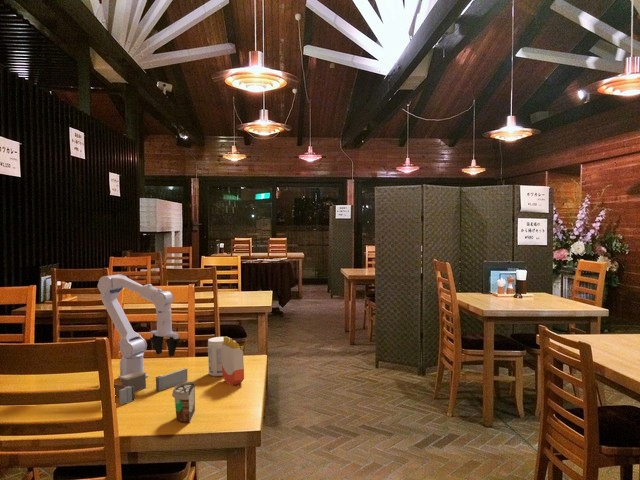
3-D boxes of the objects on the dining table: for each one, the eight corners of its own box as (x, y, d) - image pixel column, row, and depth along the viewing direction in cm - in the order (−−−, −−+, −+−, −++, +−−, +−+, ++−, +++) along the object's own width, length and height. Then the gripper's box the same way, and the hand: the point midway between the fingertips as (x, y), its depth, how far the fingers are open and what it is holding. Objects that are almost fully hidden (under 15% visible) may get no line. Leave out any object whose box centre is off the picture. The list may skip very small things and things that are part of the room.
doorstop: (120, 392, 180) (120, 376, 180) (139, 386, 187) (138, 371, 187) (127, 394, 178) (127, 378, 178) (146, 388, 185) (145, 372, 185)
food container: (177, 410, 161) (176, 381, 161) (195, 410, 162) (195, 380, 161) (168, 425, 149) (168, 394, 149) (188, 425, 149) (188, 393, 149)
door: (132, 400, 171) (132, 387, 171) (111, 396, 176) (111, 382, 176) (135, 399, 172) (135, 386, 172) (114, 395, 177) (114, 381, 177)
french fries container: (232, 377, 196) (231, 334, 195) (245, 384, 187) (244, 339, 187) (222, 380, 193) (221, 335, 193) (234, 387, 184) (233, 340, 184)
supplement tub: (235, 370, 206) (234, 336, 206) (226, 377, 197) (226, 342, 196) (213, 369, 208) (213, 336, 207) (204, 376, 198) (203, 341, 198)
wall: (119, 403, 168) (118, 389, 168) (184, 380, 193) (184, 367, 193) (122, 404, 167) (121, 390, 167) (188, 381, 193) (187, 368, 192)
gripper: (144, 321, 194) (145, 355, 194) (168, 324, 186) (169, 359, 186) (158, 318, 200) (159, 351, 200) (182, 321, 192) (183, 355, 192)
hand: (165, 354), depth 193 cm, fingers open, 7 cm apart
